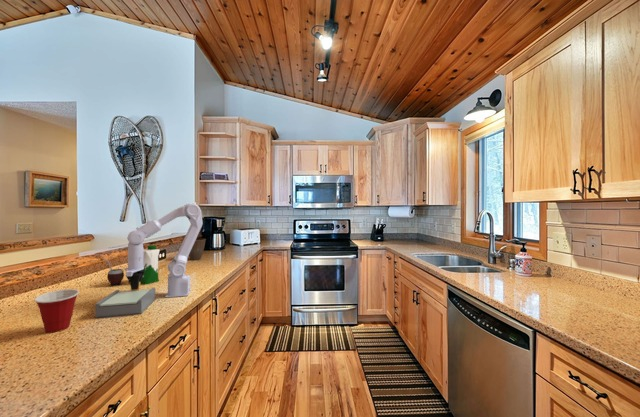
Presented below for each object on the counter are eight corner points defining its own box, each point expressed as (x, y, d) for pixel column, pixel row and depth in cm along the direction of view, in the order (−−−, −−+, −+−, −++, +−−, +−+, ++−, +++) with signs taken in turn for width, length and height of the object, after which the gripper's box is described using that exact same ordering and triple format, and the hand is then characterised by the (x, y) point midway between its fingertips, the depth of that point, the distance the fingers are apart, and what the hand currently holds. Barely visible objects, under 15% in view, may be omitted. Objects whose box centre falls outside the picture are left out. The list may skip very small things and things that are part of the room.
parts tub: (155, 299, 118) (155, 287, 118) (141, 314, 102) (141, 300, 102) (116, 302, 114) (116, 290, 114) (95, 318, 98) (95, 303, 98)
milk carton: (161, 280, 148) (161, 245, 148) (145, 285, 140) (145, 247, 140) (150, 279, 151) (150, 244, 151) (134, 283, 143) (134, 246, 143)
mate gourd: (127, 283, 143) (127, 255, 143) (114, 287, 135) (114, 258, 135) (114, 282, 144) (114, 255, 144) (101, 287, 136) (101, 258, 136)
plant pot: (191, 262, 200) (191, 241, 200) (180, 259, 208) (181, 239, 208) (209, 259, 212) (209, 239, 212) (198, 257, 220) (198, 238, 220)
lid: (151, 290, 118) (151, 281, 118) (137, 303, 102) (137, 292, 102) (120, 292, 115) (120, 283, 115) (100, 306, 98) (100, 295, 98)
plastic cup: (26, 339, 82) (26, 301, 82) (43, 325, 91) (43, 291, 91) (72, 332, 87) (72, 296, 87) (83, 320, 96) (83, 287, 96)
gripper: (131, 255, 121) (131, 284, 121) (117, 261, 107) (117, 294, 107) (149, 254, 123) (149, 283, 123) (137, 260, 109) (137, 293, 109)
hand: (135, 288), depth 116 cm, fingers closed on lid
